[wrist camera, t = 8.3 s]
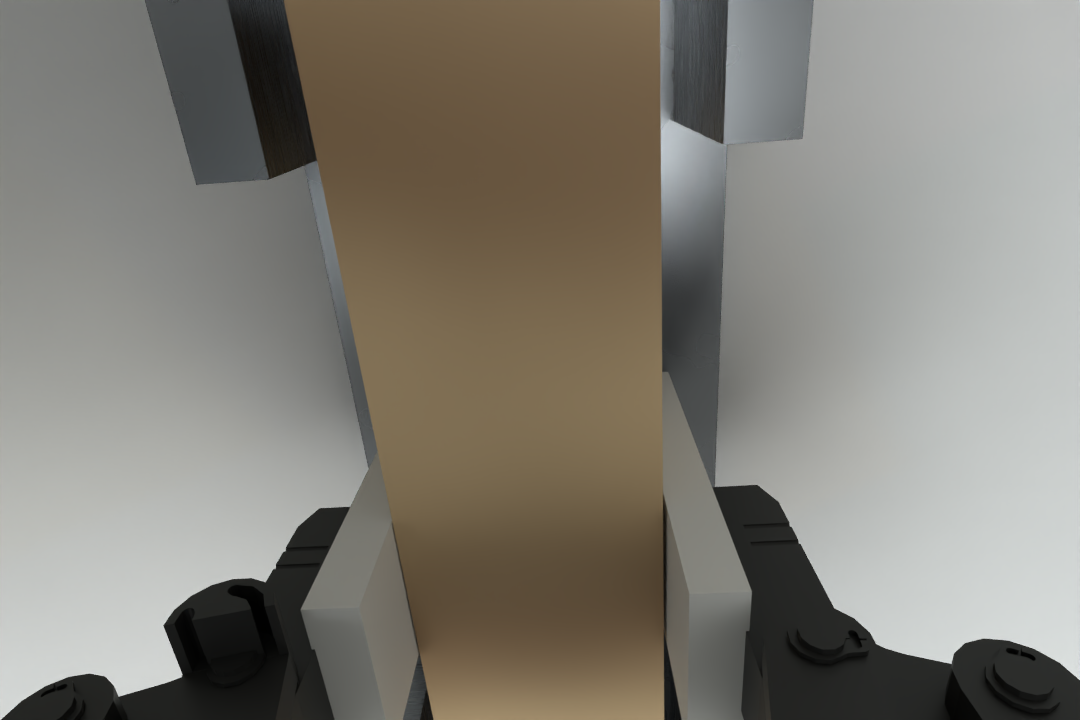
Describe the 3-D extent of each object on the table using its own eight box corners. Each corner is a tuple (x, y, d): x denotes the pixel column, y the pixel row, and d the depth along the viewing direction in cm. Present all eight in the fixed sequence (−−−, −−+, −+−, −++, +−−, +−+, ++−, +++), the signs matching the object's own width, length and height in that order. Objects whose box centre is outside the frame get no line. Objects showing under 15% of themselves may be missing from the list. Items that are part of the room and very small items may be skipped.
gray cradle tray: (247, -165, 11) (59, -307, 7) (730, -214, 11) (845, -397, 6) (433, 734, 20) (399, 913, 16) (700, 725, 20) (740, 906, 15)
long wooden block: (386, 6, 12) (276, -34, 7) (617, -16, 11) (659, -72, 7) (496, 721, 19) (477, 932, 14) (638, 716, 19) (665, 928, 14)
